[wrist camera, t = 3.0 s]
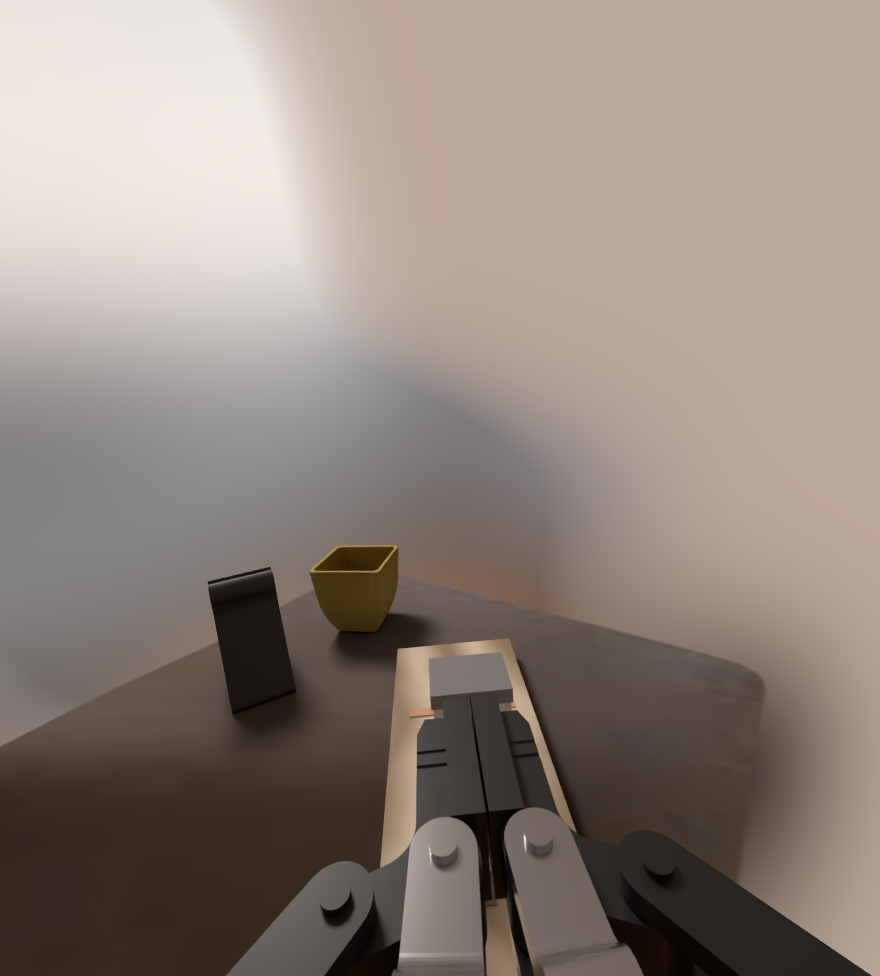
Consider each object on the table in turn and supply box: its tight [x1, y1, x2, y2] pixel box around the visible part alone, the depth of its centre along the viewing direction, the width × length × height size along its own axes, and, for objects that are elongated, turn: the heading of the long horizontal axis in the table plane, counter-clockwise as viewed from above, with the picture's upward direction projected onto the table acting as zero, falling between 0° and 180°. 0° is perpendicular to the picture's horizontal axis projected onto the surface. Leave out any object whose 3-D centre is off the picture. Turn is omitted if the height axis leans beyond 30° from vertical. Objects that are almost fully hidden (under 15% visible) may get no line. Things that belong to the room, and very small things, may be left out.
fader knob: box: [429, 652, 513, 871], centre depth 26 cm, size 4×3×12 cm
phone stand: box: [208, 567, 296, 714], centre depth 47 cm, size 9×6×12 cm, turn 27°
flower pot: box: [310, 546, 398, 632], centre depth 57 cm, size 9×9×9 cm
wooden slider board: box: [380, 639, 577, 976], centre depth 35 cm, size 12×28×2 cm, turn 3°
